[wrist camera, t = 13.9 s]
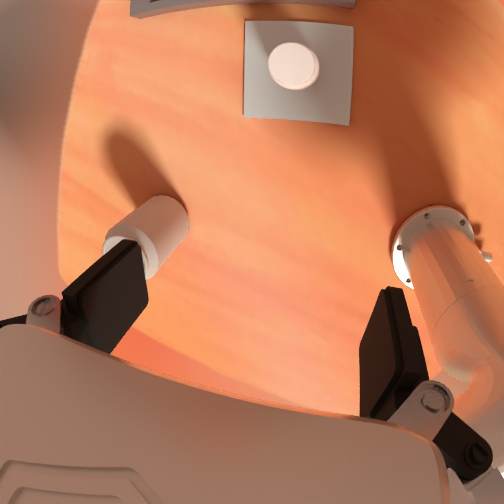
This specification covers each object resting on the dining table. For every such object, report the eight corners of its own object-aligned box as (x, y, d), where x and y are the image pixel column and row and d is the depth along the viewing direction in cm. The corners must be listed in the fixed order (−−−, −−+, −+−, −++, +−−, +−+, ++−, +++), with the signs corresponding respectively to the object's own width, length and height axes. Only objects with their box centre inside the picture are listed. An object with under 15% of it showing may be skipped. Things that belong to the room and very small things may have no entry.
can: (136, 203, 42) (86, 241, 32) (177, 185, 39) (129, 221, 29) (159, 246, 45) (118, 293, 35) (200, 233, 42) (163, 282, 32)
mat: (353, 27, 25) (353, 26, 25) (348, 125, 31) (349, 125, 31) (246, 21, 27) (245, 20, 27) (244, 117, 33) (243, 117, 33)
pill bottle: (275, 50, 28) (262, 37, 21) (318, 51, 27) (319, 38, 20) (276, 90, 30) (263, 89, 23) (319, 91, 30) (320, 90, 22)
